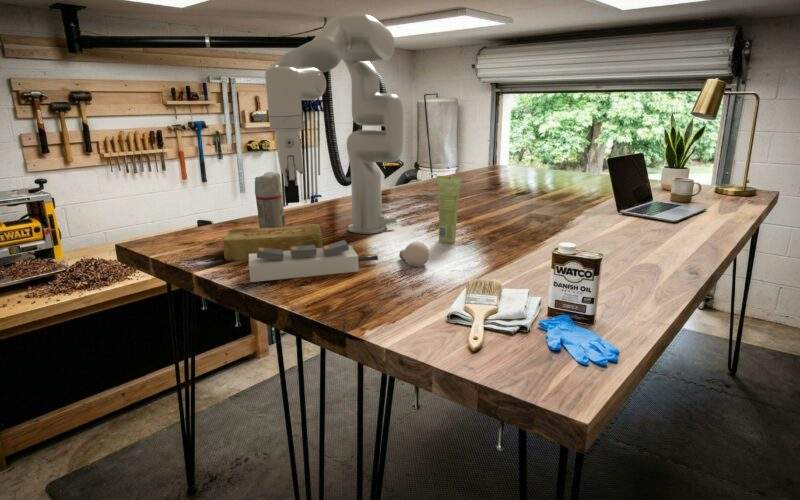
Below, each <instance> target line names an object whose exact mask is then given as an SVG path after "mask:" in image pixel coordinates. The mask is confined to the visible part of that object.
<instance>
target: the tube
mask: <svg viewBox="0 0 800 500" xmlns="http://www.w3.org/2000/svg"><path fill="white" fill-rule="evenodd" d="M462 183H463V176H446V175H436V185H437V186H436V187H437V198H438V200H437V202H438V203H437V204H438V241H439V242H440V243H443V244H444V243H446V244H450V243H455V242H456V236H457V235H456V234H457V222H458V210H459V203H460V201H459V200H460V193H461V188H462V187H461V186H462Z"/></svg>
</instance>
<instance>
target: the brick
mask: <svg viewBox="0 0 800 500" xmlns="http://www.w3.org/2000/svg"><path fill="white" fill-rule="evenodd" d="M322 232H323V231H322V230H321V226H320V224H319V223H318V224H317V223H312V224H311V223H310V224H297V225H289V226H286V227H280V228H260V227H259V228H251V227H250V228H249V227H248V228H234V229H230V230H228V232H227V234H226V236H225V237H223V256H224V259H225V261H227V262H234V261H235V262H239V261H249V254H254V253H257V247H262V248H271V249H280V250H283V251H289V250H290V246H304V245H315V247H316V248H322V246H324V242H323V233H322Z"/></svg>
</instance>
